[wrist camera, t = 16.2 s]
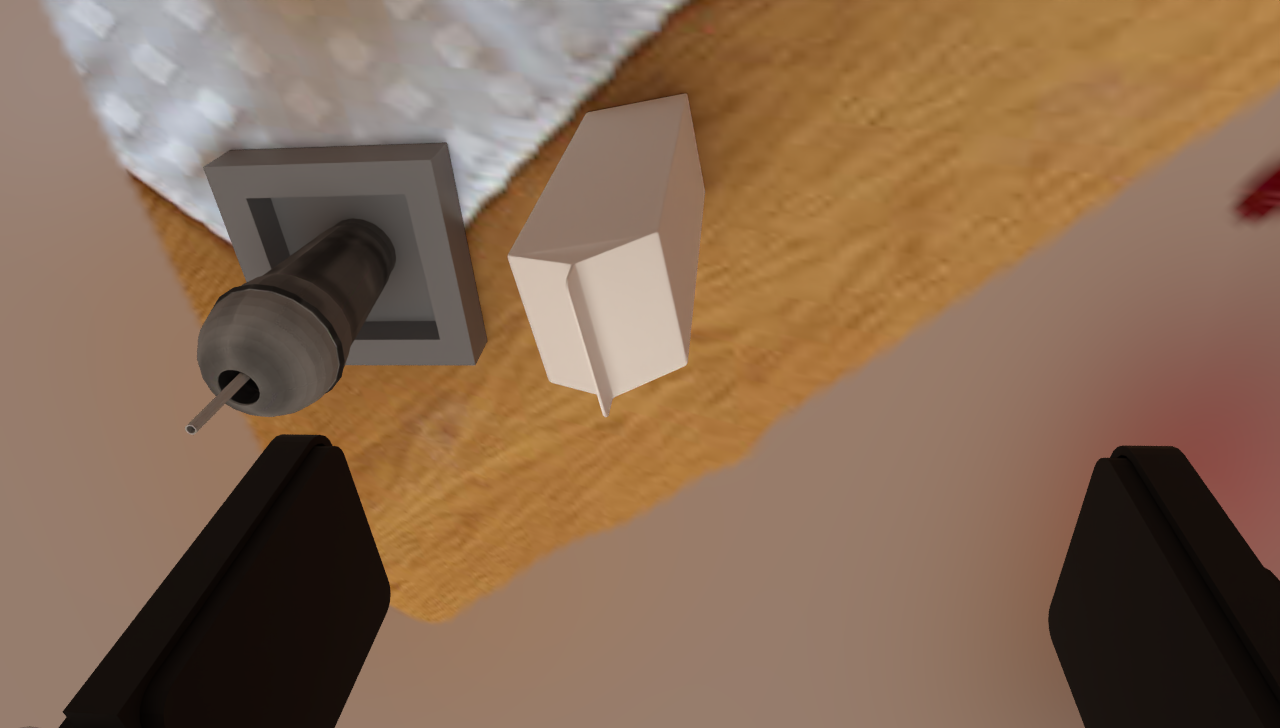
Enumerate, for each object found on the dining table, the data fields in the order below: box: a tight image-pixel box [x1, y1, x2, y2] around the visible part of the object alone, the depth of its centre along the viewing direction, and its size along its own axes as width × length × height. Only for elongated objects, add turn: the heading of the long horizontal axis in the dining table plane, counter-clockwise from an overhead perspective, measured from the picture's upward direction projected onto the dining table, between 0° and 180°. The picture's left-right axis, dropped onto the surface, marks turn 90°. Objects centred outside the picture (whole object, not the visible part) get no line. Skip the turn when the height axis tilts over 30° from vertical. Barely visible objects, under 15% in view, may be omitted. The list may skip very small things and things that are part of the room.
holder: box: [203, 143, 487, 365], centre depth 51 cm, size 14×14×3 cm
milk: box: [508, 93, 705, 417], centre depth 38 cm, size 6×6×22 cm
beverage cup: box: [185, 218, 396, 434], centre depth 44 cm, size 7×7×20 cm
